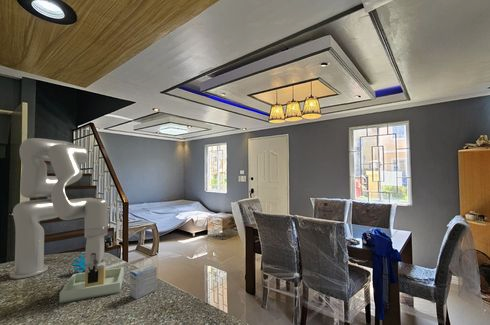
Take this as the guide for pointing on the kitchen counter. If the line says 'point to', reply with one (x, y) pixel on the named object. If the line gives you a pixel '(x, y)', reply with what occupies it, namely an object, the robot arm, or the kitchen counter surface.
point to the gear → (80, 264)
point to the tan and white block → (100, 275)
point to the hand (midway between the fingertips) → (95, 277)
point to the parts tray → (78, 290)
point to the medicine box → (143, 281)
